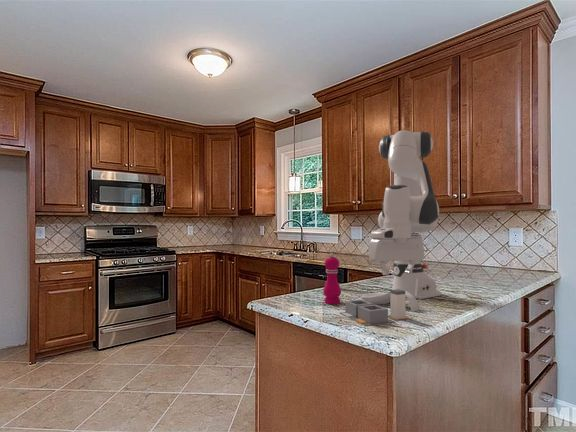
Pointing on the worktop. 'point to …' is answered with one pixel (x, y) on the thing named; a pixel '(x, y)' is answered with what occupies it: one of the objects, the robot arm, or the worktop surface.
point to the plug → (397, 304)
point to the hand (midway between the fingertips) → (397, 274)
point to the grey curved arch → (385, 299)
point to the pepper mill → (332, 281)
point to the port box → (366, 313)
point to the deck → (399, 319)
